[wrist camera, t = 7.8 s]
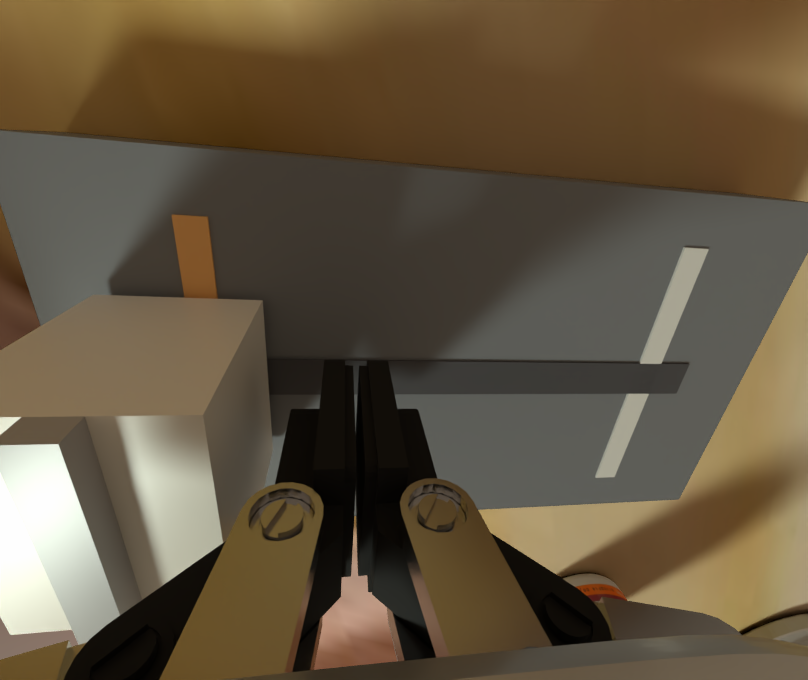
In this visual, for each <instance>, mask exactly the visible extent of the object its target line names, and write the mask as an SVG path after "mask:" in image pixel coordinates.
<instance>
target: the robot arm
mask: <svg viewBox="0 0 808 680" xmlns="http://www.w3.org/2000/svg"><path fill="white" fill-rule="evenodd" d="M355 492H356V523H357V557H358V576H363V575H367V576H368V592H372V595H374V596H375V597H376V598H377V599H378V600H379V601H380V602H382V603H383V604H384V605H385V606H386V607H387V614H388V622H389V627H390V631H391V635H392V639H393V644H394V648H395V652H396V656H397V661H398V662H388V663H378V664H368V665H358V666H348V667H339V668H329V669H319V670H314V666H315V660H316V655H317V650H318V645H319V639H320V634H321V629H322V616H323V615H324V614H325V613H326V612H327V611H328V610H329V609H330V608H331V607H332V605H333V604H334V603H335V602H336V601H337V600H338V599H339V598H340V597H341V577H349V576H351V565H352V547H353V529H354V510H355ZM0 680H808V614H799V615H795V616H790V617H786V618H782V619H779V620H776V621H773V622H770V623H768V624H765V625H763V626H760V627H758V628H756V629H753V630H751V631H749V632H747V633H746V634H744V635H741V634H740V633H739V632H738V631H737V630H736V629H735V628H733V627H731V626H730V625H728V624H727V623H725V622H723V621H722V620H720V619H718V618H716V617H713V616H709V615H706V614H703V613H698V612H692V611H686V610H680V609H674V608H668V607H662V606H656V605H650V604H644V603H638V602H632V601H626V600H620V599H614V598H608V597H601V599H600V601H599V602H594V601H592V600H591V599H590V598H589V597H588V596H586V595H585V594H584V593H583V592H581V591H580V590H579V589H578V588H576V587H575V586H573V585H571V584H570V583H568V582H567V581H565V580H564V579H562V578H560V577H559V576H557V575H556V574H554V573H553V572H551V571H549V570H548V569H546V568H545V567H543V566H542V565H540V564H538V563H537V562H535V561H534V560H532V559H531V558H529V557H527V556H526V555H524V554H523V553H521V552H520V551H518V550H517V549H515V548H513V547H512V546H510V545H509V544H507V543H506V542H504V541H502V540H501V539H499V538H498V537H496V536H495V535H493V534H491V533H490V531H489V529H488V527H487V525H486V524H485V522H484V520H483V518H482V516H481V514H480V513H479V511H478V509H477V507H476V505H475V503H474V502H473V500H472V499H471V497H470V496H469V495H468V493H467V492H466V491H464V490H463V489H462V488H461V487H459V486H458V485H456V484H454V483H452V482H449V481H447V480H442V479H438V478H437V475H436V472H435V468H434V465H433V461H432V457H431V454H430V450H429V446H428V443H427V439H426V436H425V432H424V428H423V425H422V421H421V418H420V414H419V411H418V410H417V409H397V404H396V399H395V394H394V389H393V384H392V379H391V374H390V369H389V364H388V361H377V360H367V366H359V374H358V394H357V413H356V432H355V402H354V373H353V365H345V360H324V367H323V377H322V387H321V397H320V407H319V409H291V411H290V415H289V420H288V424H287V429H286V434H285V439H284V443H283V448H282V453H281V458H280V462H279V467H278V472H277V477H276V481H275V484H274V485H270V486H268V487H266V488H264V489H262V490H260V491H258V492H256V493H255V494H254V495H253V496H252V497H251V498H249V499H248V500H247V502H246V503H245V505H244V506H243V508H242V509H241V511H240V513H239V515H238V517H237V519H236V521H235V523H234V525H233V528H232V530H231V532H230V534H229V536H228V538H227V540H226V541H225V542H224V543H222V544H221V545H219V546H218V547H216V548H215V549H214V550H212V551H211V552H209V553H208V554H207V555H205V556H204V557H202V558H201V559H199V560H198V561H197V562H195V563H194V564H192V565H191V566H190V567H188V568H187V569H185V570H184V571H182V572H181V573H180V574H178V575H177V576H175V577H174V578H172V579H171V580H170V581H168V582H167V583H165V584H164V585H163V586H161V587H160V588H158V589H157V590H155V591H154V592H153V593H151V594H150V595H148V596H147V597H145V598H144V599H143V600H141V601H140V602H138V603H137V604H136V605H134V606H133V607H131V608H130V609H128V610H127V611H126V612H124V613H123V614H121V615H120V616H118V617H117V618H116V619H114V620H113V621H111V622H110V623H109V624H107V625H106V626H105V627H104V628H102V629H101V630H100V631H99V632H98V633H96V634H95V635H94V636H93V637H92V638H91V639H89V641H88V642H87V643H83V644H80V645H76V646H73V647H72V646H71V643H70V641H69V640H68V641H64V642H61V643H57V644H54V645H50V646H47V647H43V648H40V649H36V650H33V651H29V652H26V653H22V654H19V655H15V656H12V657H8V658H5V659H2V660H0Z"/></svg>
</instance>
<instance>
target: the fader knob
mask: <svg viewBox="0 0 808 680" xmlns="http://www.w3.org/2000/svg"><path fill="white" fill-rule="evenodd" d="M272 451H273V442H272V428H271V414H270V399H269V385H268V370H267V356H266V341H265V327H264V312H263V300H240V299H210V298H180V297H151V296H121V295H92V296H90V297H88V298H87V299H85V300H83V301H82V302H80V303H78V304H77V305H75V306H73V307H72V308H70V309H68V310H67V311H65V312H63V313H62V314H60V315H58V316H57V317H55V318H53V319H52V320H50V321H48V322H47V323H45V324H43V325H42V326H40V327H38V328H37V329H35V330H33V331H32V332H30V333H28V334H27V335H25V336H23V337H22V338H20V339H18V340H17V341H15V342H13V343H12V344H10V345H8V346H7V347H5V348H3V349H2V350H0V617H1V619H2V621H3V622H4V624H5V626H6V628H7V630H8V631H9V633H10V634H11V635H16V634H27V633H37V632H38V633H39V632H50V631H62V630H72V631H73V633H74V635H75V637H76V640H77V642H78V644H79V645H80V644H83V643H87V642H88V641H89V639H91V638H92V637H93V636H94V635H95V634H96V633H98V632H99V631H100V630H101V629H102V628H104V627H105V626H106V625H107V624H109V623H110V622H111V621H113V620H114V619H116V618H117V617H118V616H120V615H121V614H123V613H124V612H126V611H127V610H128V609H130V608H131V607H133V606H134V605H136V604H137V603H138V602H140V601H141V600H143V599H144V598H145V597H147V596H148V595H150V594H151V593H153V592H154V591H155V590H157V589H158V588H160V587H161V586H163V585H164V584H165V583H167V582H168V581H170V580H171V579H172V578H174V577H175V576H177V575H178V574H180V573H181V572H182V571H184V570H185V569H187V568H188V567H190V566H191V565H192V564H194V563H195V562H197V561H198V560H199V559H201V558H202V557H204V556H205V555H207V554H208V553H209V552H211V551H212V550H214V549H215V548H216V547H218V546H219V545H221V544H222V543H224V542H225V541H226V540H227V538H228V536H229V534H230V532H231V530H232V528H233V525H234V523H235V521H236V519H237V517H238V515H239V513H240V511H241V509H242V508H243V506H244V505H245V503H246V502H247V500H248V499H249V498H251V497H252V496H253V495H254V494H255V493H256V492H258V491H260V490H262V489H264V486H265V482H266V477H267V473H268V469H269V464H270V460H271V456H272Z"/></svg>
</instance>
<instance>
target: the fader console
mask: <svg viewBox="0 0 808 680" xmlns="http://www.w3.org/2000/svg"><path fill="white" fill-rule="evenodd" d="M0 205H1V208H2V211H3V214H4V217H5V220H6V223H7V226H8V229H9V232H10V235H11V238H12V241H13V244H14V247H15V250H16V253H17V256H18V259H19V262H20V265H21V268H22V271H23V274H24V277H25V280H26V283H27V286H28V289H29V292H30V295H31V298H32V301H33V304H34V307H35V310H36V313H37V316H38V319H39V322H40V325H41V326H42V325H43V324H45V323H47V322H48V321H50V320H52V319H53V318H55V317H57V316H58V315H60V314H62V313H63V312H65V311H67V310H68V309H70V308H72V307H73V306H75V305H77V304H78V303H80V302H82V301H83V300H85V299H87V298H88V297H90V296H92V295H121V296H151V297H180V298H210V299H240V300H263V312H264V327H265V341H266V356H267V370H268V385H269V399H270V414H271V428H272V442H273V451H272V456H271V460H270V464H269V469H268V473H267V477H266V482H265V486H264V488H266V487H268V486H270V485H274V484H275V481H276V477H277V472H278V467H279V462H280V458H281V453H282V448H283V443H284V439H285V434H286V429H287V424H288V420H289V415H290V411H291V409H319V407H320V397H321V387H322V377H323V367H324V360H345V365H353V373H354V402H355V432H356V413H357V394H358V374H359V366H367V360H377V361H388V364H389V369H390V374H391V379H392V384H393V389H394V394H395V399H396V404H397V409H417V410H418V411H419V414H420V418H421V421H422V425H423V428H424V432H425V436H426V439H427V443H428V446H429V450H430V454H431V457H432V461H433V465H434V468H435V472H436V475H437V478H438V479H442V480H447V481H449V482H452V483H454V484H456V485H458V486H459V487H461V488H462V489H463V490H464V491H466V492H467V493H468V495H469V496H470V497H471V499H472V500H473V502H474V503H475V505H476V507H477V509H478V510H481V509H500V508H520V507H539V506H559V505H579V504H598V503H618V502H638V501H657V500H677V499H679V498H680V496H681V494H682V492H683V490H684V488H685V487H686V485H687V483H688V481H689V479H690V477H691V475H692V473H693V471H694V469H695V467H696V466H697V464H698V462H699V460H700V458H701V456H702V454H703V452H704V450H705V448H706V446H707V444H708V443H709V441H710V439H711V437H712V435H713V433H714V431H715V429H716V427H717V425H718V423H719V421H720V420H721V418H722V416H723V414H724V412H725V410H726V408H727V406H728V404H729V402H730V400H731V399H732V397H733V395H734V393H735V391H736V389H737V387H738V385H739V383H740V381H741V379H742V377H743V376H744V374H745V372H746V370H747V368H748V366H749V364H750V362H751V360H752V358H753V356H754V355H755V353H756V351H757V349H758V347H759V345H760V343H761V341H762V339H763V337H764V335H765V333H766V332H767V330H768V328H769V326H770V324H771V322H772V320H773V318H774V316H775V314H776V312H777V310H778V309H779V307H780V305H781V303H782V301H783V299H784V297H785V295H786V293H787V291H788V289H789V288H790V286H791V284H792V282H793V280H794V278H795V276H796V274H797V272H798V270H799V268H800V266H801V265H802V263H803V261H804V259H805V257H806V255H807V253H808V202H803V201H795V200H787V199H779V198H771V197H763V196H755V195H746V194H737V193H726V192H715V191H704V190H693V189H682V188H671V187H660V186H649V185H638V184H627V183H616V182H605V181H594V180H583V179H572V178H561V177H550V176H539V175H528V174H517V173H506V172H495V171H484V170H473V169H462V168H451V167H440V166H429V165H418V164H407V163H396V162H385V161H374V160H363V159H352V158H341V157H330V156H319V155H308V154H297V153H286V152H275V151H264V150H253V149H242V148H231V147H220V146H209V145H198V144H187V143H176V142H165V141H154V140H143V139H132V138H121V137H110V136H99V135H88V134H77V133H66V132H46V131H24V130H2V129H0ZM354 516H356V492H355V510H354Z"/></svg>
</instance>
